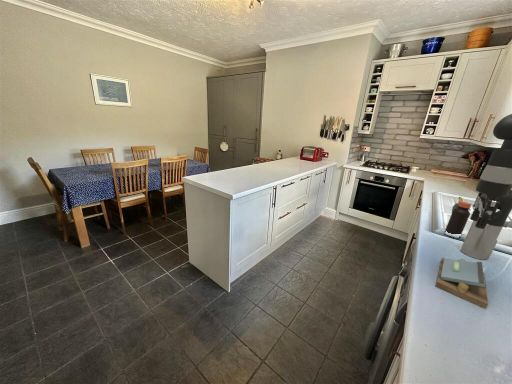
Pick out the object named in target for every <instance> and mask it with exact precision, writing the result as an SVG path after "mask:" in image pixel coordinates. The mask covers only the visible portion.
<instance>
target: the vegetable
mask: <svg viewBox="0 0 512 384" xmlns="http://www.w3.org/2000/svg"><path fill="white" fill-rule="evenodd" d="M457 199H458V201H457V203H456V202H455V203H454V204H453V206H452V209H451V213H452V212H453V210H454V209H456V208H458V203H459V201H463V202H464V200H463V197H462V196H459V197H458V198H457Z"/></svg>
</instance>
